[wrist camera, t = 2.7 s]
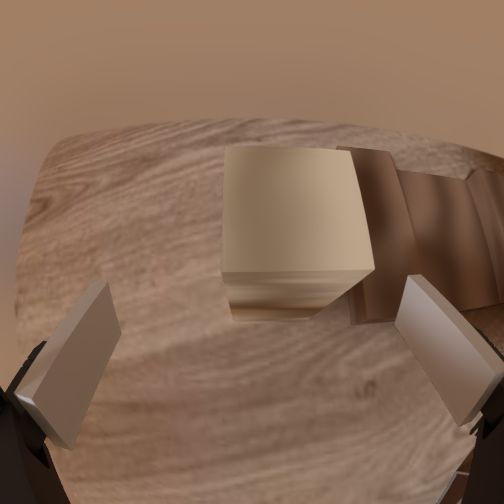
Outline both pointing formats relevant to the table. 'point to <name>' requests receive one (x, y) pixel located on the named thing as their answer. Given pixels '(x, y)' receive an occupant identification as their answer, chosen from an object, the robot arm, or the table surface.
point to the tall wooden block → (290, 231)
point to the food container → (455, 489)
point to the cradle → (428, 236)
